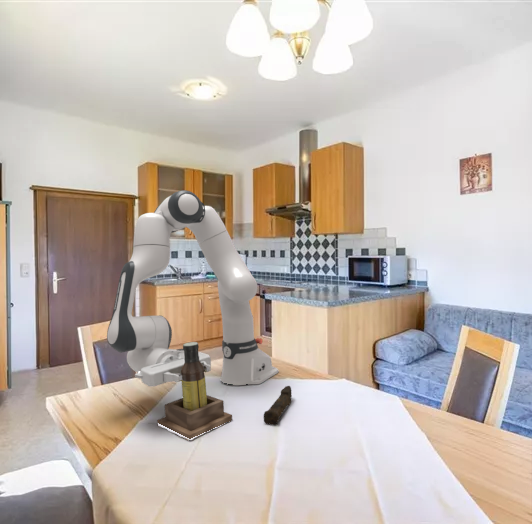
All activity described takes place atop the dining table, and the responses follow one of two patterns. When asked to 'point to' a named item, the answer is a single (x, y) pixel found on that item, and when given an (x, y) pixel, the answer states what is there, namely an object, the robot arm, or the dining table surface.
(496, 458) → the dining table surface
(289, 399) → the hand tool
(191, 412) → the socket holder
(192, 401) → the sauce bottle
